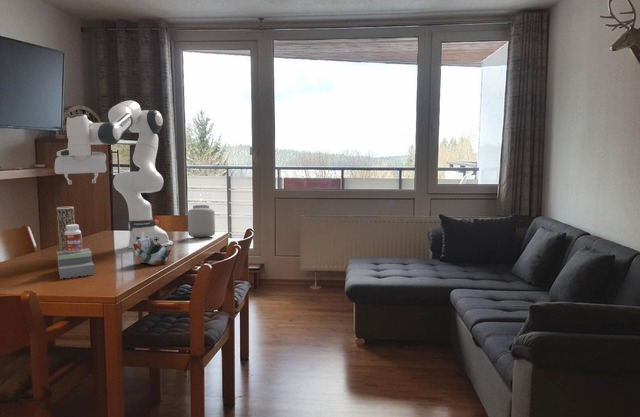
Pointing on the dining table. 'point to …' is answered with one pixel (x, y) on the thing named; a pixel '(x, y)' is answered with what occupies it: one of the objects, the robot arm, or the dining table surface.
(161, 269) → the dining table surface
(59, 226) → the bark log
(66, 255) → the stepped stand
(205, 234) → the jar
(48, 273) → the dining table surface
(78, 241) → the pill bottle
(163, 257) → the blue-grey lumpy figure
